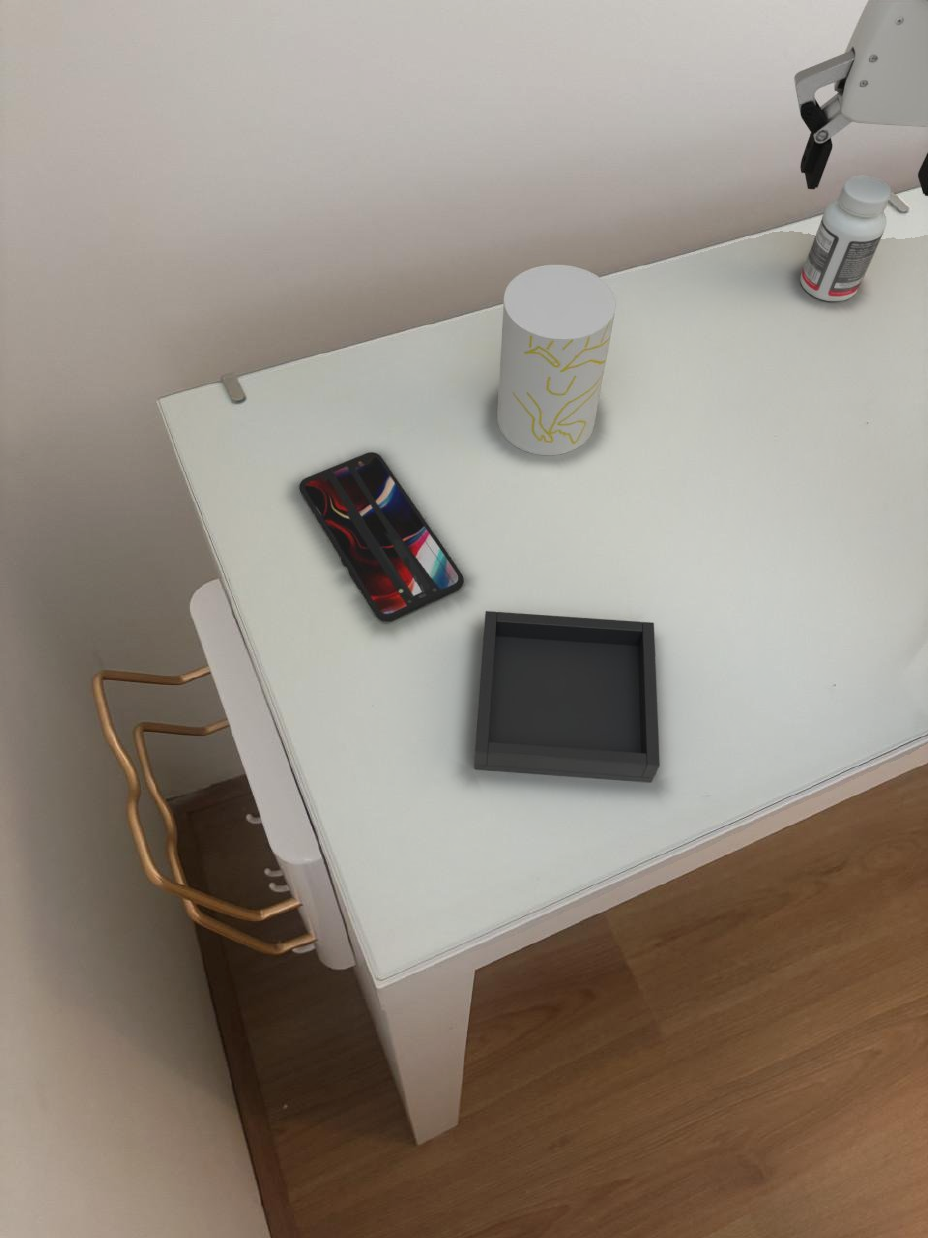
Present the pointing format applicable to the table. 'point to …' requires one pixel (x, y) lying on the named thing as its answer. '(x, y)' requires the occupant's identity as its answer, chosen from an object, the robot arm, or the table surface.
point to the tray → (568, 697)
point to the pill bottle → (846, 239)
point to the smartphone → (380, 536)
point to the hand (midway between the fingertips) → (867, 182)
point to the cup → (553, 357)
